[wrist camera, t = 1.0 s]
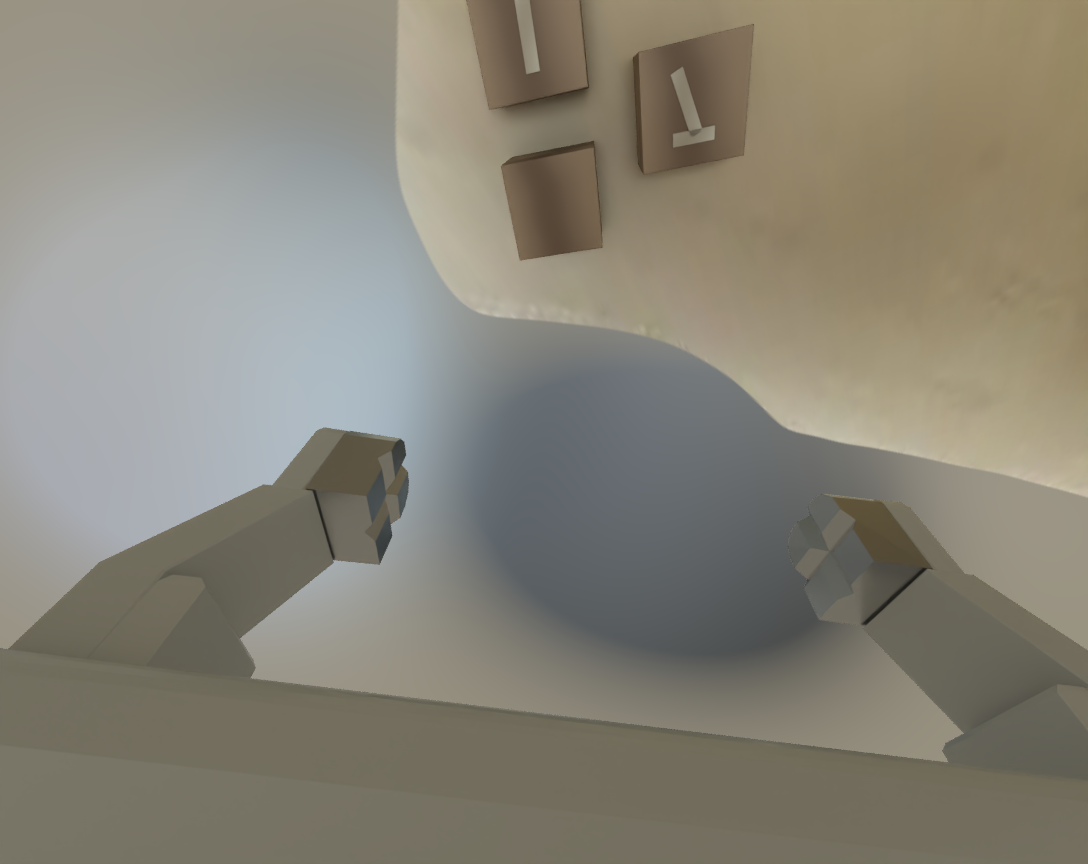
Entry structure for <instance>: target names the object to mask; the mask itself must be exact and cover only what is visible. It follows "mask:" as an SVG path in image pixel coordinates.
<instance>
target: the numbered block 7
mask: <svg viewBox="0 0 1088 864" xmlns="http://www.w3.org/2000/svg"><path fill="white" fill-rule="evenodd" d="M753 30H754V24H751V25H747V26H743V27H739V28H735V29H731V30H727V31H723V32H719V33H715V34H711V35H706V36H702V37H698V38H694V39H690V40H686V41H682V42H678V43H674V44H670V45H666V46H662V47H658V48H654V49H649V50H645V51H641V52H638V53H637V54H636V55H635V56H634V57H633V64H634V85H635V107H636V128H637V149H638V165H639V167H640V169H641V170H642V172H643V174H649V173H654V172H660V171H665V170H670V169H675V168H680V167H685V166H691V165H696V164H701V163H706V162H711V161H717V160H722V159H727V158H732V157H737V156H742V155H744V147H745V134H746V121H747V108H748V95H749V82H750V69H751V56H752V43H753Z"/></svg>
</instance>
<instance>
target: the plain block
mask: <svg viewBox="0 0 1088 864" xmlns="http://www.w3.org/2000/svg"><path fill="white" fill-rule="evenodd" d="M501 169H502V174H503V179H504V184H505V189H506V194H507V198H508V203H509V208H510V213H511V218H512V223H513V228H514V233H515V238H516V243H517V248H518V253H519V258H520V260H526V259H532V258H538V257H545V256H551V255H558V254H564V253H570V252H577V251H583V250H590V249H596V248H602V227H601V216H600V205H599V194H598V182H597V171H596V160H595V149H594V141H591V142H586V143H581V144H576V145H571V146H566V147H561V148H556V149H551V150H546V151H541V152H536V153H531V154H526V155H521V156H516V157H512V158H511V159H509V160H508V161H507V162H506V163H504V164H503V165H502V166H501Z"/></svg>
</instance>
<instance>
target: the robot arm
mask: <svg viewBox="0 0 1088 864" xmlns="http://www.w3.org/2000/svg"><path fill="white" fill-rule="evenodd" d="M405 456H406V450H405V444H404V441H403V440H401V439H399V438H392V437H385V436H380V435H373V434H367V433H360V432H353V431H350V432H349V431H344V430H337V429H331V428H322V429H319V430H317V431H316V432H315V433H314V435H313V436H312V437H311V438H310V440H309V441H308V442H307V443H306V445H305V446H304V447H303V448H302V450H301V451H300V452H299V453H298V454H297V456H296V457H295V458H294V459H293V461H292V462H291V463H290V464H289V466H288V467H287V468H286V469H285V470H284V472H283V473H282V474H281V475H280V477H279V478H278V479H277V480H276V482H275V483H274V484H273V485H262V486H259V487H258V488H255V489H253V490H251V491H249V492H247V493H245V494H243V495H241V496H238V497H236V498H234V499H232V500H230V501H228V502H226V503H224V504H221V505H219V506H217V507H215V508H213V509H211V510H209V511H207V512H205V513H202V514H200V515H198V516H196V517H194V518H192V519H190V520H188V521H186V522H183V523H182V524H179V525H177V526H175V527H173V528H171V529H169V530H167V531H164V532H162V533H160V534H158V535H156V536H154V537H152V538H150V539H148V540H146V541H143V542H141V543H139V544H137V545H135V546H133V547H131V548H128V549H127V550H124V551H122V552H120V553H118V554H116V555H114V556H112V557H109V558H107V559H105V560H103V561H101V562H99V563H98V564H97V565H96V566H95V567H94V568H93V569H92V570H91V571H90V572H89V573H88V574H87V575H85V576H84V577H83V578H82V580H80V581H79V582H78V583H77V584H76V585H75V586H74V587H73V588H72V589H71V590H70V591H69V592H68V593H67V594H65V595H64V596H63V597H62V598H61V599H60V600H59V601H58V602H57V603H56V604H55V605H54V606H53V607H52V608H51V609H50V610H49V611H48V612H47V613H45V614H44V615H43V616H42V617H41V618H40V619H39V620H38V621H37V622H36V623H35V624H34V625H33V626H32V627H31V628H30V629H29V630H28V631H27V632H25V634H23V635H22V636H21V637H20V638H19V639H18V640H17V641H16V642H15V643H14V644H13V645H12V646H11V647H10V648H9V649H2V648H0V864H1088V650H1086V649H1085V648H1083V647H1082V646H1080V645H1079V644H1077V643H1076V642H1074V641H1073V640H1071V639H1070V638H1068V637H1067V636H1065V635H1064V634H1062V633H1060V632H1059V631H1057V630H1056V629H1055V628H1053V627H1051V626H1050V625H1048V624H1047V623H1045V622H1044V621H1042V620H1041V619H1039V618H1038V617H1036V616H1035V615H1033V614H1032V613H1030V612H1028V611H1027V610H1026V609H1024V608H1023V607H1021V606H1020V605H1018V604H1016V603H1015V602H1013V601H1012V600H1010V599H1009V598H1007V597H1006V596H1004V595H1003V594H1001V593H1000V592H998V591H997V590H995V589H994V588H992V587H990V586H989V585H988V584H986V583H985V582H983V581H982V580H980V579H979V578H977V577H976V576H974V575H968V574H965V573H964V572H963V571H962V570H961V569H960V567H959V566H958V565H957V564H956V563H955V561H954V560H953V559H952V558H951V556H950V555H949V554H948V553H947V552H946V551H945V549H944V548H943V547H942V546H941V545H940V543H939V542H938V541H937V540H936V538H935V537H934V536H933V535H932V533H931V532H930V531H929V530H928V529H927V527H926V526H925V525H924V524H923V523H922V521H921V520H920V519H919V518H918V516H917V515H916V514H915V513H914V512H913V510H912V509H911V508H909V507H908V506H906V505H904V504H903V503H901V502H892V501H883V500H870V499H862V498H854V497H846V496H838V495H830V494H820V495H819V496H817V497H815V498H814V499H813V500H812V502H811V503H810V504H809V506H808V511H809V515H810V516H808V517H806V518H804V519H802V520H800V521H798V522H797V523H796V524H795V526H794V528H793V529H792V531H791V532H790V535H789V543H788V549H789V555H790V559H791V561H792V563H793V565H794V568H795V569H796V570H798V571H799V572H800V573H801V574H802V575H803V576H804V577H805V578H806V579H807V580H806V584H805V586H804V589H805V591H806V593H807V596H808V598H809V600H810V602H811V604H812V606H813V608H814V610H815V613H816V615H817V617H818V619H819V620H825V621H831V622H838V623H844V624H851V625H857V626H864V628H863V629H864V630H865V631H866V632H867V633H868V635H869V636H870V637H871V638H872V639H873V640H874V641H875V642H876V643H877V644H878V645H879V646H880V647H881V648H882V649H883V650H884V651H885V652H886V653H887V654H888V655H889V656H890V657H891V658H892V659H893V660H894V661H895V662H896V663H897V664H898V665H899V666H900V668H901V669H902V670H903V671H904V672H905V673H906V674H907V675H908V676H909V677H910V678H911V679H912V680H913V681H914V682H915V683H916V684H917V685H918V686H919V687H920V688H921V689H922V690H923V691H924V692H925V693H926V695H927V696H928V697H929V698H930V699H931V700H932V701H933V702H934V703H935V704H936V705H937V706H938V707H939V708H940V709H941V710H942V711H943V712H944V713H945V714H946V715H947V716H948V717H949V718H950V719H951V720H952V721H953V722H954V724H956V725H957V727H958V728H959V729H960V730H961V731H962V732H963V733H964V734H962V735H960V736H958V737H956V738H954V739H953V740H951V741H949V742H947V743H945V746H944V748H943V750H942V751H943V753H944V755H945V756H946V758H947V760H948V762H949V763H948V762H940V761H931V760H923V759H914V758H907V757H898V756H890V755H881V754H874V753H864V752H857V751H848V750H841V749H832V748H824V747H816V746H807V745H799V744H791V743H782V742H774V741H766V740H758V739H750V738H741V737H733V736H725V735H716V734H708V733H700V732H691V731H683V730H675V729H667V728H659V727H650V726H642V725H634V724H625V723H617V722H609V721H601V720H592V719H584V718H576V717H567V716H559V715H551V714H542V713H534V712H526V711H517V710H509V709H501V708H493V707H485V706H476V705H468V704H459V703H451V702H443V701H434V700H426V699H417V698H410V697H401V696H392V695H385V694H377V693H368V692H360V691H351V690H342V689H335V688H327V687H318V686H310V685H301V684H293V683H284V682H277V681H268V680H260V679H252V678H251V676H252V674H253V672H254V670H255V664H254V661H253V659H252V657H251V655H250V654H249V652H248V651H247V649H246V647H245V646H244V644H243V643H242V641H241V640H240V638H241V637H242V636H243V635H244V634H246V633H247V632H248V631H250V630H251V629H252V628H253V627H254V626H256V625H257V624H258V623H259V622H261V621H262V620H263V619H264V618H266V617H267V616H268V615H269V614H271V613H272V612H273V611H274V610H276V609H277V608H278V607H279V606H280V605H282V604H283V603H284V602H286V601H287V600H288V599H289V598H290V597H292V596H293V595H294V594H295V593H297V592H298V591H299V590H300V589H301V588H303V587H304V586H305V585H307V584H308V583H309V582H310V581H312V580H313V579H314V578H315V577H317V576H318V575H319V574H320V573H321V572H323V571H324V570H325V569H326V568H327V567H329V566H330V565H331V564H333V560H338V561H348V562H358V563H369V564H380V563H381V560H382V558H383V556H384V554H385V551H386V549H387V547H388V545H389V542H390V540H391V538H392V531H391V524H392V523H393V522H395V521H396V520H398V519H399V518H400V517H401V515H402V512H403V510H404V507H405V504H406V499H407V495H408V486H409V478H408V472H407V470H406V469H405V468H404V467H403V466H402V463H403V461H404V459H405Z"/></svg>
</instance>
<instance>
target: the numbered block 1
mask: <svg viewBox="0 0 1088 864" xmlns="http://www.w3.org/2000/svg"><path fill="white" fill-rule="evenodd" d="M466 1H467V5H468V10H469V15H470V20H471V25H472V29H473V34H474V39H475V44H476V49H477V53H478V58H479V63H480V68H481V72H482V77H483V82H484V87H485V92H486V96H487V101H488V106H489V110H490V109H497V108H503V107H508V106H512V105H516V104H520V103H525V102H529V101H533V100H537V99H542V98H546V97H550V96H555V95H559V94H563V93H567V92H572V91H576V90H580V89H584V88H589V84H588V74H587V64H586V53H585V43H584V33H583V22H582V12H581V1H580V0H466Z"/></svg>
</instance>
